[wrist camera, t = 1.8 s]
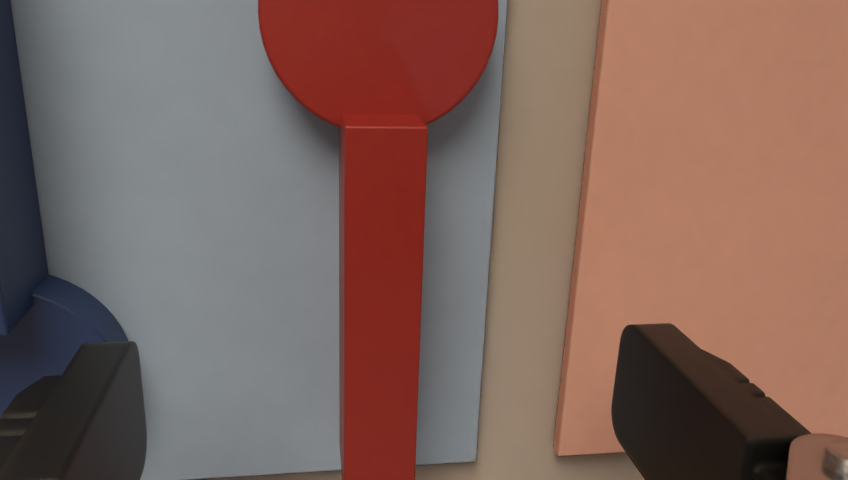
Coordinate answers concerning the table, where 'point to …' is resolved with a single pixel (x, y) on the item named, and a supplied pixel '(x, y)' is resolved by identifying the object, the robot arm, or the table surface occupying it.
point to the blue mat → (239, 230)
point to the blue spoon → (33, 256)
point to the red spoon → (379, 185)
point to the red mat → (714, 203)
